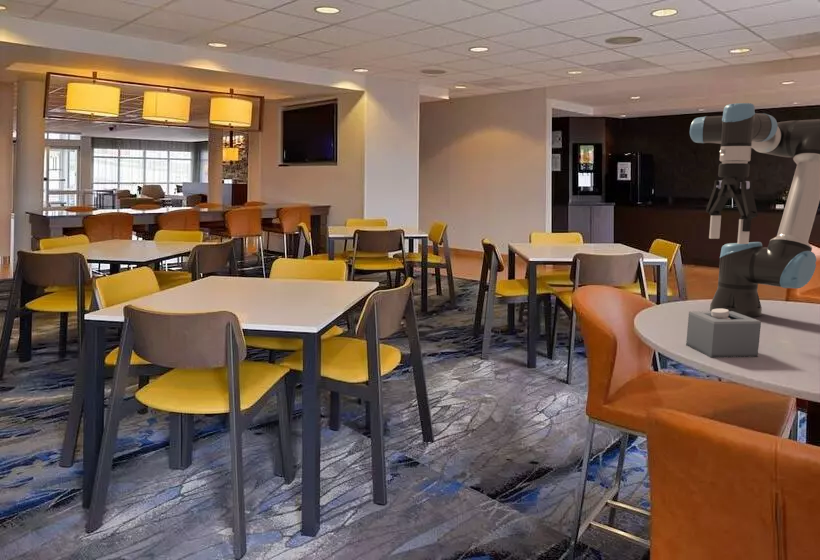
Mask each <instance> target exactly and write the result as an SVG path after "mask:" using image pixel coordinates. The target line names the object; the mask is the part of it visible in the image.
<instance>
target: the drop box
mask: <svg viewBox="0 0 820 560" xmlns="http://www.w3.org/2000/svg"><path fill="white" fill-rule="evenodd" d="M728 318H730V319H716V318H714V317H712V316H711V311H710V310H708V311H707V310H706V311H704V310H702V311H699V310H698V311H694V310H693V311H688V319H687V331H686V341H685V343H686V344H685V345H686V346H688V347H689V348H691V349H693V350H695V351H696V352H698V353H701V354H703V355H704V356H707V357H709V358H711V359H712V358H713V359H714V358H716V359H719V358H720V359H721V358H722V359H723V358H724V357H728V358H758V357H759V356H758V354H759V348H760V347H759V346H760V335H761V327H762V326H761V325H762V320H758V319H756V318H754V317H748V316H745V315H742V314H739V313H736V312H733V311H729V316H728Z"/></svg>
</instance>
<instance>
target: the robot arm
mask: <svg viewBox="0 0 820 560" xmlns="http://www.w3.org/2000/svg"><path fill="white" fill-rule="evenodd" d="M755 111H756V110H755V104H753V103H749V102H745V103H744V102H743V103H742V102H739V103H738V102H737V103H729V104H726V105H725V106H724V107H723V112H722V115H713V116H712V115H711V116H707V115H705V116H700V117H695V118H694V119H693V120H692V122H691V124H690V127H689V136H690V139H691V141H692V142H693V143H697V144H719V145H720V150H719V161H720V162H721V163H719V165H718V171H717V172H718V173H717V175H718V178H722V179H721V180H719V179H718V180H717V179H716V180H714V185H713V189H712V192H711V195H710V197H709V201H708V203H707V206H706V209H705V212H706V213H708V214H709V216H710V219H709V234H708V239H711V240H712V239H713V240H714V239H717V240H718V239H720V237H721V236H720V235H721V225H722V224H721V221H722V211H723V208H724V207H725V205H726V204H727V202H728V200H729V199H733V200H734V202H735V205H736V206H737V210H738V212H739V214H740V217H739V219H738V230H737V231H738V232H737V240H736V241H737V242H729V243H725V244H724V245H722V246H721V248H720V249H721V250H720V254H719V255H720V256H719V265H718V267H719V269H718V278H717V279H718V280H717V289H716V291H715V293H714V295H713V298H712V299H711V302H710V303H709V311H712V310H713V309H727V310H729V311H733V312H736V313H739V314H742V315H745V316H748V317H750V318H757V317H760V316H762V312H763V311H762V310H763V309H762V304H761V301H760V300H761V299H760V297H759V292H758V286H759V285H765V286H771V287H780V288H783V289H801V288H803V287H805V285H807V284H808V283H809V282H810V281H811V279H812V277H813V276H814V273H815V270H816V268H817V256H816V254H815V253H814V252H813V251H812V250H813V247H812V245H811V244H810V243H809V240H810V235H811V234H812V233H811V232H812V229H813V225H814V223H815V219H816V216H817V215H816V214H817V210H818V207H819V206H820V205H819V204H820V118H817V119H803V120H801V119H798V120H787V121H780V122H777V119H776V118H775V117H774V116H773V115H770V114H768V113H765V112H763V113H758V112H755ZM752 150H754V151H755V152H757V153H761V154H766V155H772V156H777V157H781V158H782V157H783V158H792V160H793V163H795V164H796V166H795V167H796V168H795V169H794V173H793V174H794V175H793V178H792V181H791V186H790V189H789V192H788V196H787V198H786V202H785V206H784V209H783V212H782V213H783V214H782V217H781V220H780V224H779V227H778V230H777V234H776V236H775V237H773V238H771V239H770V240H769V243H768V245H767V247H766V246H764V247H763V243H762V242H761V241H750V231H751V227H752V226H751V225H752V220H753V219H754V218H757V217H758V215H759V214H758V209H757V205H756V200H755V196H754V189H753V181H752V180H745V178H749V176H750V166H751V164H750V163H748V162H750V161H752V160H751V158H752V156H751V155H752ZM749 241H750V242H749Z"/></svg>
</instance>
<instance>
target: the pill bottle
mask: <svg viewBox="0 0 820 560" xmlns="http://www.w3.org/2000/svg"><path fill="white" fill-rule="evenodd" d="M711 316H712V317H714V318H716V319H730V318H728V316H729V310H727V309H713V310H712V311H711Z"/></svg>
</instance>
